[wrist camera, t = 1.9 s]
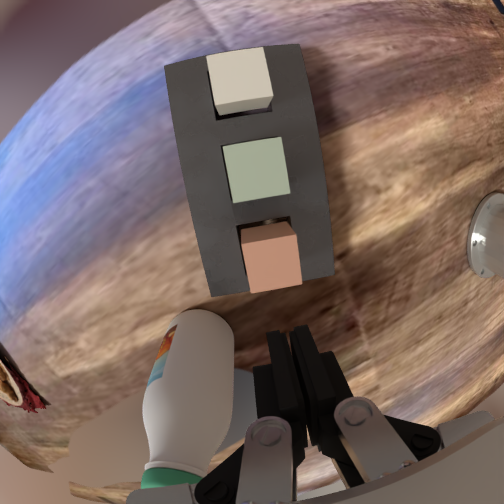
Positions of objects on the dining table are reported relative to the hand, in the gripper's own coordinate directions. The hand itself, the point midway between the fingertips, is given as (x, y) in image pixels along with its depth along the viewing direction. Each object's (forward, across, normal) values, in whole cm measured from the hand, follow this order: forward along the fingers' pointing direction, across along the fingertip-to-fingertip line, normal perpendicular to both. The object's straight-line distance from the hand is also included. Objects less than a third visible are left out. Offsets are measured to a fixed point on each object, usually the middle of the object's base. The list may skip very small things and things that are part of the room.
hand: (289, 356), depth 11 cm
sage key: (+15, -1, -7) cm, 16 cm away
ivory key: (+15, -1, -14) cm, 20 cm away
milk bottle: (+18, +8, +10) cm, 22 cm away
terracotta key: (+15, -1, 0) cm, 15 cm away
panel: (+17, -1, -7) cm, 19 cm away
